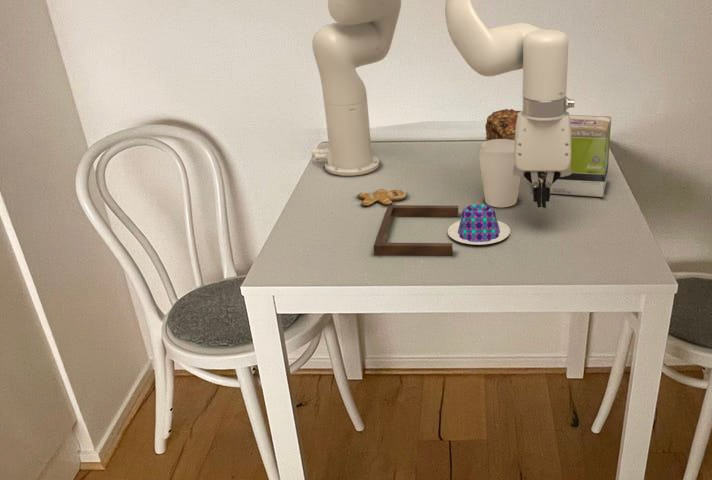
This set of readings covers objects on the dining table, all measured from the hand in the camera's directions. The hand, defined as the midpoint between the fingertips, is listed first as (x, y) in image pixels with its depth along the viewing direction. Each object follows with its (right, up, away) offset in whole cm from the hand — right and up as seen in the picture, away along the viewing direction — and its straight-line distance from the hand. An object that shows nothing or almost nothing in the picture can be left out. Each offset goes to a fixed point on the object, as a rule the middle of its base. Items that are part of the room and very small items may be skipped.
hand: (541, 204), depth 141 cm
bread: (-2, +17, +39) cm, 43 cm away
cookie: (-32, +4, +19) cm, 37 cm away
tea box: (+8, +7, +24) cm, 26 cm away
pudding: (-12, -5, +4) cm, 13 cm away
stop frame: (-23, -5, +4) cm, 24 cm away
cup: (-7, +3, +17) cm, 19 cm away
